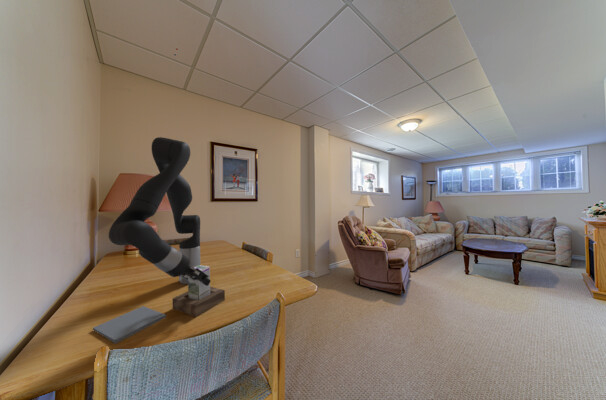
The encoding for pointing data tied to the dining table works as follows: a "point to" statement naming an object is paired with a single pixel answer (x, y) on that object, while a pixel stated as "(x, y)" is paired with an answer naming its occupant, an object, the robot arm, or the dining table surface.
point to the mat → (129, 324)
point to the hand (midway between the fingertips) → (201, 281)
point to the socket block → (198, 302)
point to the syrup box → (199, 285)
